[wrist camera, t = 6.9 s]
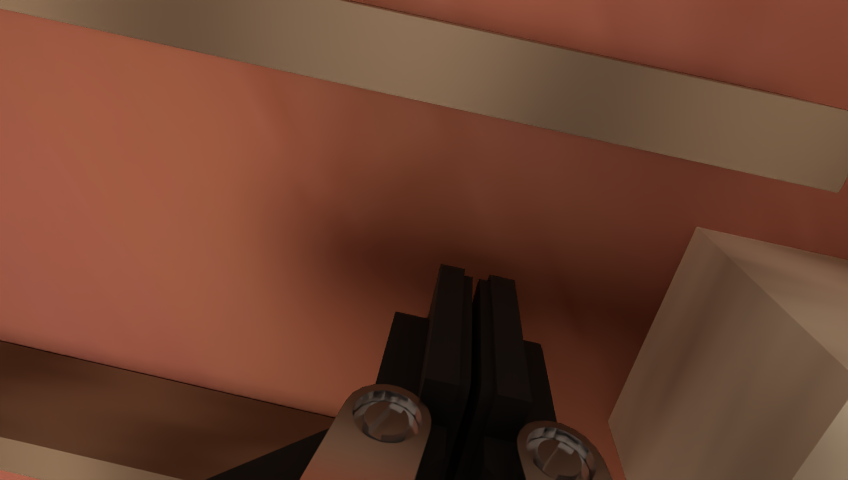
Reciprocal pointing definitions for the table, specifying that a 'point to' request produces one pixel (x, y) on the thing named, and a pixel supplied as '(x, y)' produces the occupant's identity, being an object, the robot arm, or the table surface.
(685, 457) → the parcel
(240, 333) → the table surface
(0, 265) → the table surface
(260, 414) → the shelf bay
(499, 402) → the robot arm
